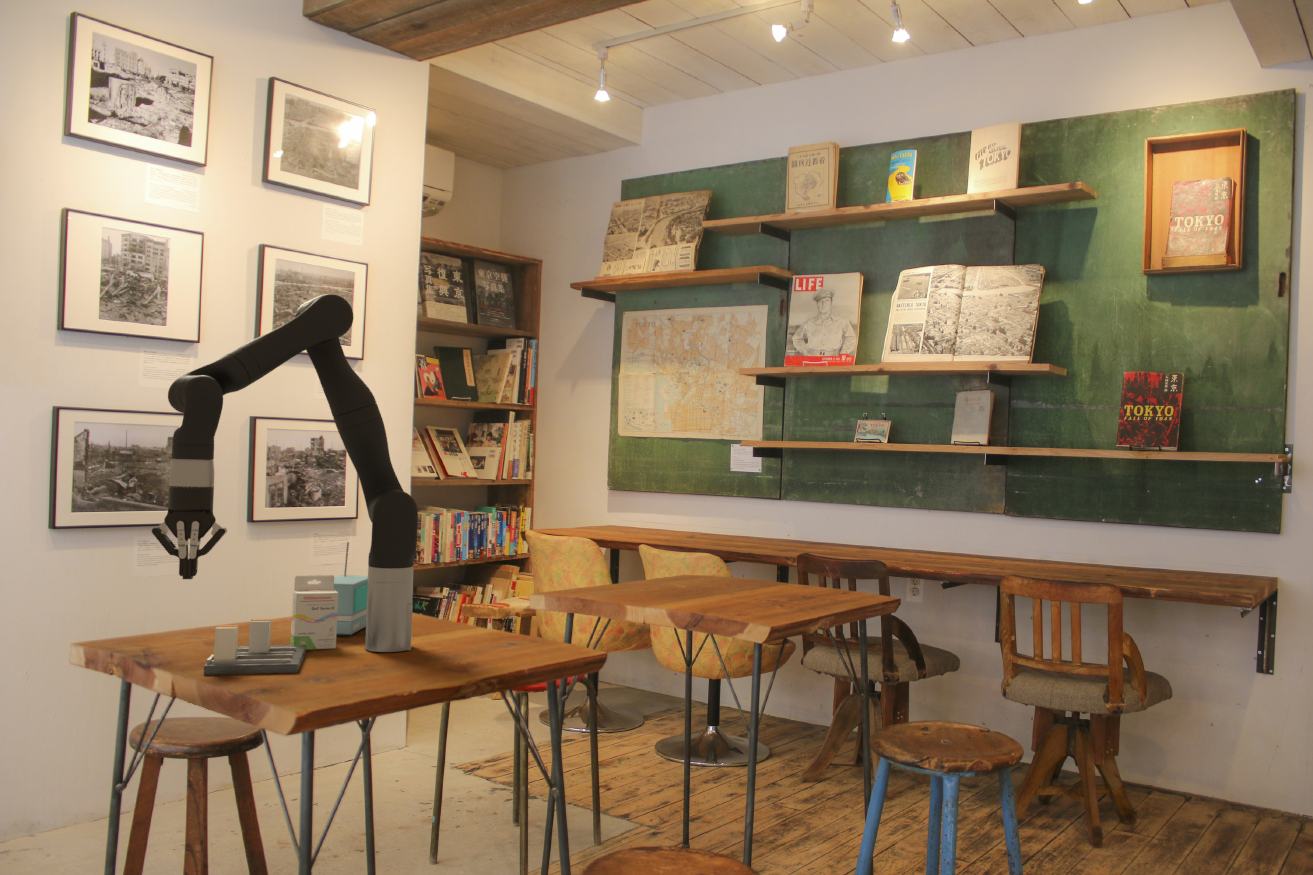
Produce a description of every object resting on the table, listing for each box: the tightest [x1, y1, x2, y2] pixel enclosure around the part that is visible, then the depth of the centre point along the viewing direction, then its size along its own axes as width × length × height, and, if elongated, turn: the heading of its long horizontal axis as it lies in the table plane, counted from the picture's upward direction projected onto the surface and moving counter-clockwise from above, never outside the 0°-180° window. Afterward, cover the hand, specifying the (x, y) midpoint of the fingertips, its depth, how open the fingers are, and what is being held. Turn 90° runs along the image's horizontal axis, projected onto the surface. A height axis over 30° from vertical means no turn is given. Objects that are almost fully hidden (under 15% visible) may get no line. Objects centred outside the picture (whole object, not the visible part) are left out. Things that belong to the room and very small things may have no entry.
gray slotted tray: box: [203, 644, 307, 676], centre depth 192 cm, size 16×19×2 cm
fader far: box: [248, 618, 272, 652], centre depth 194 cm, size 4×3×6 cm
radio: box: [318, 541, 368, 638], centre depth 230 cm, size 16×9×20 cm, turn 179°
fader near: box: [213, 624, 239, 660], centre depth 186 cm, size 4×3×6 cm
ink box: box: [289, 574, 338, 651], centre depth 210 cm, size 9×5×15 cm, turn 117°
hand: (187, 578), depth 184 cm, fingers closed
